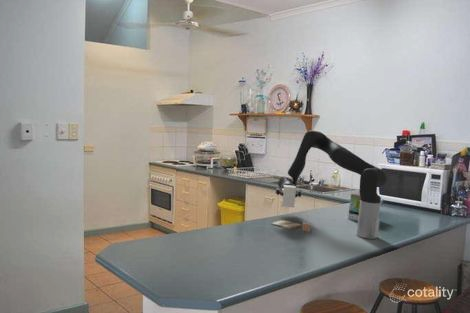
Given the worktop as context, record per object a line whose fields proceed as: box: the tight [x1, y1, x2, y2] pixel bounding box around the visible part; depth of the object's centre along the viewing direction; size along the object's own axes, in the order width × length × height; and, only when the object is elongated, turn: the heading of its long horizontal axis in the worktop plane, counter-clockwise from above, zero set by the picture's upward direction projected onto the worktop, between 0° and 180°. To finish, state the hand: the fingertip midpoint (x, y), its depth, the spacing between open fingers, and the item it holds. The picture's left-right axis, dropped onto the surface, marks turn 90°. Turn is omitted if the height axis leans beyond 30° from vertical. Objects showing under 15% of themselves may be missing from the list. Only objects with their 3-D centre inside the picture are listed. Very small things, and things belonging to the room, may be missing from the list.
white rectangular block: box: [281, 185, 297, 209], centre depth 205 cm, size 6×6×10 cm
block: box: [301, 221, 311, 233], centre depth 198 cm, size 4×4×4 cm
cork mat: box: [271, 219, 302, 230], centre depth 206 cm, size 11×11×1 cm
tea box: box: [347, 191, 361, 222], centre depth 232 cm, size 15×10×15 cm, turn 143°
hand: (289, 194), depth 202 cm, fingers closed on white rectangular block, 6 cm apart
